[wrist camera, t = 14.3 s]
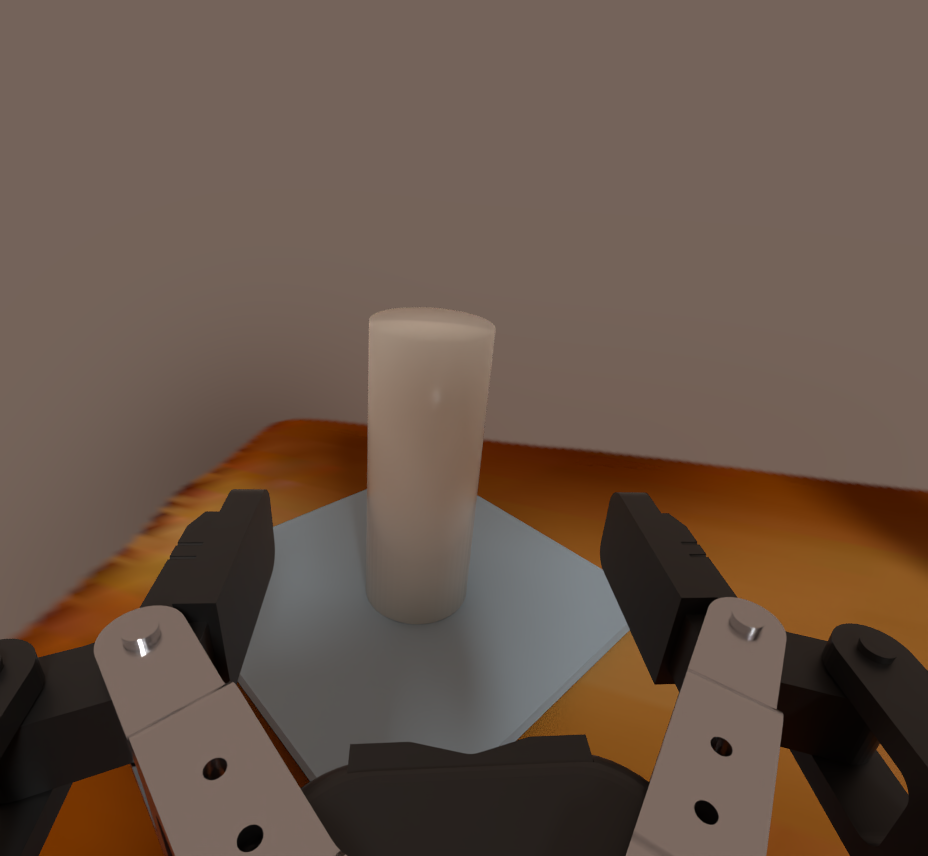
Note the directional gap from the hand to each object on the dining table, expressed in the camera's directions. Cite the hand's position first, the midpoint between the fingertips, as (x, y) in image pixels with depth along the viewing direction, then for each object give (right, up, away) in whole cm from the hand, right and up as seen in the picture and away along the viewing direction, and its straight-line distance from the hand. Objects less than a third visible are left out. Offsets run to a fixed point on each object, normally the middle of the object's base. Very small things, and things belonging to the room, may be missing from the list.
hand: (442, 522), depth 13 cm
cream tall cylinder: (-2, -6, +16) cm, 17 cm away
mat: (-2, -7, +16) cm, 18 cm away
